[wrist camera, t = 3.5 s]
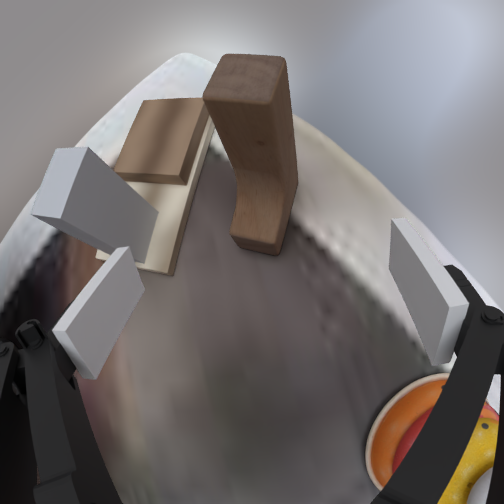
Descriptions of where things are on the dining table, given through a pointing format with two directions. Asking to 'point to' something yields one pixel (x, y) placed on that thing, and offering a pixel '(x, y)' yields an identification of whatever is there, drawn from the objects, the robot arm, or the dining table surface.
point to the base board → (168, 215)
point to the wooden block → (256, 145)
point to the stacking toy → (409, 426)
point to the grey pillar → (94, 204)
